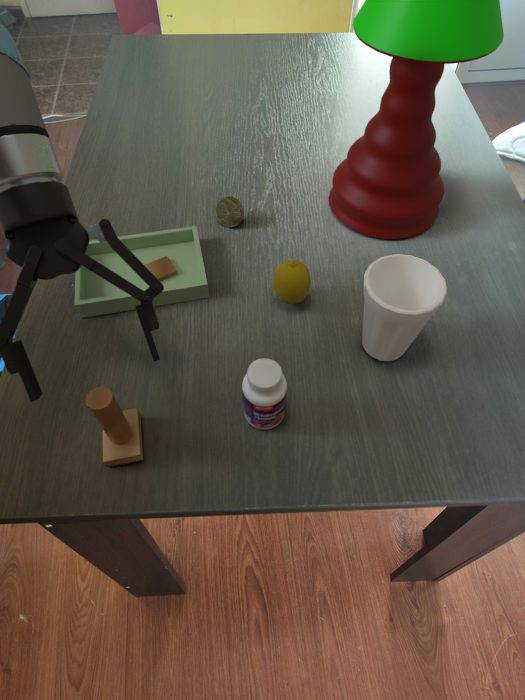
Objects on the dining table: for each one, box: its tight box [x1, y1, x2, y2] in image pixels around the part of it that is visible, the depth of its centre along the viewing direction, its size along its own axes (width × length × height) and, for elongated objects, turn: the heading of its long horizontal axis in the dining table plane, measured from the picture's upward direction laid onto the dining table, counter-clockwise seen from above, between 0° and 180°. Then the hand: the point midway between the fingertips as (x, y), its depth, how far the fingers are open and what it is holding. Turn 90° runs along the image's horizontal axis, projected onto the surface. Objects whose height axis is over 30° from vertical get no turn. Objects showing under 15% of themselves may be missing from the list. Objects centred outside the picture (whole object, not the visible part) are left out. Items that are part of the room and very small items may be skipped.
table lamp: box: [328, 0, 505, 240], centre depth 67 cm, size 20×20×45 cm
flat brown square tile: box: [144, 256, 178, 281], centre depth 75 cm, size 4×4×1 cm
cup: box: [361, 253, 448, 362], centre depth 62 cm, size 10×10×13 cm
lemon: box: [272, 259, 312, 305], centre depth 69 cm, size 6×6×8 cm
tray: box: [74, 225, 210, 319], centre depth 74 cm, size 20×14×3 cm
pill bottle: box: [241, 357, 288, 430], centre depth 57 cm, size 5×5×10 cm
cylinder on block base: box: [85, 386, 144, 468], centre depth 54 cm, size 4×6×11 cm
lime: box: [215, 196, 245, 228], centre depth 80 cm, size 4×5×5 cm
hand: (98, 378), depth 53 cm, fingers open, 13 cm apart
